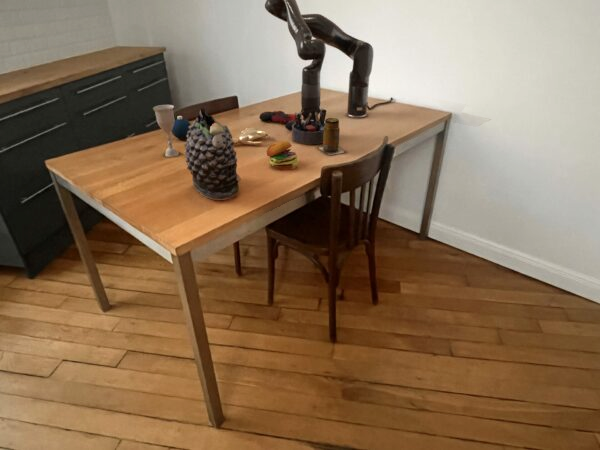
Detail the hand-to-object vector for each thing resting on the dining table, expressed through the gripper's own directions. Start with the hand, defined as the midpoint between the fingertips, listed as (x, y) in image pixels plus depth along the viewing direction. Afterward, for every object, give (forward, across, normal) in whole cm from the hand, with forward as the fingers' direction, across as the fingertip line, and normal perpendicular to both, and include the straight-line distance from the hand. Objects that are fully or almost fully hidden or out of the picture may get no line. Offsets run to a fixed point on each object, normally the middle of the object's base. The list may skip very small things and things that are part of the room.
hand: (310, 135), depth 169 cm
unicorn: (+2, -24, +11) cm, 26 cm away
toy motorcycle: (+2, +1, +24) cm, 24 cm away
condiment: (+2, +1, -15) cm, 15 cm away
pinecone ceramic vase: (+2, -50, -26) cm, 56 cm away
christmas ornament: (+2, -46, +26) cm, 53 cm away
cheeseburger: (+2, -23, -19) cm, 30 cm away
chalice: (+2, -55, +11) cm, 56 cm away
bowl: (+1, 0, 0) cm, 1 cm away
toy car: (+1, 0, 0) cm, 1 cm away
